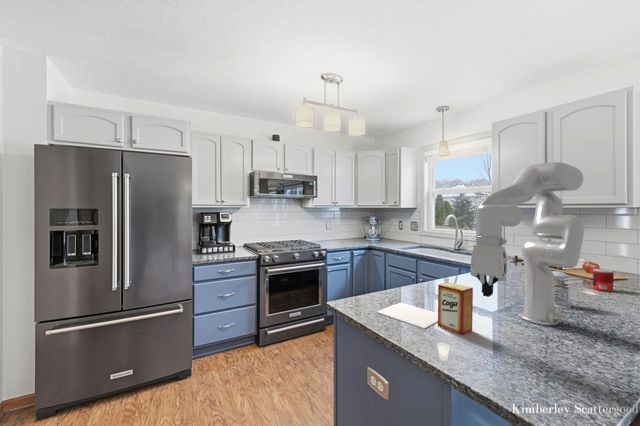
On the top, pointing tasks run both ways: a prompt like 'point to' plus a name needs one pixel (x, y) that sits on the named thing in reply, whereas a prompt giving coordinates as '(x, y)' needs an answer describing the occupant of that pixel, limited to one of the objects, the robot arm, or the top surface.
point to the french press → (561, 291)
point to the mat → (410, 315)
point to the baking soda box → (455, 307)
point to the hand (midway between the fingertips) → (487, 295)
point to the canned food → (603, 280)
